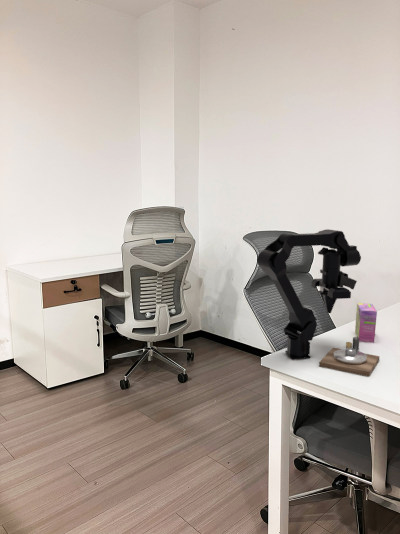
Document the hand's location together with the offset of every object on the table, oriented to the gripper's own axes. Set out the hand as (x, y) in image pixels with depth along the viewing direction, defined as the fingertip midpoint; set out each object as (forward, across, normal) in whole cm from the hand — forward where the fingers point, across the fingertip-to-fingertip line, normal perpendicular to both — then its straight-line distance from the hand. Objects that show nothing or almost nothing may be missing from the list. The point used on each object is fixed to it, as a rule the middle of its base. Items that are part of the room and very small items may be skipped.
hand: (328, 312), depth 159 cm
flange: (+11, -12, -3) cm, 17 cm away
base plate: (+13, -13, -2) cm, 18 cm away
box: (+13, +10, -19) cm, 25 cm away
